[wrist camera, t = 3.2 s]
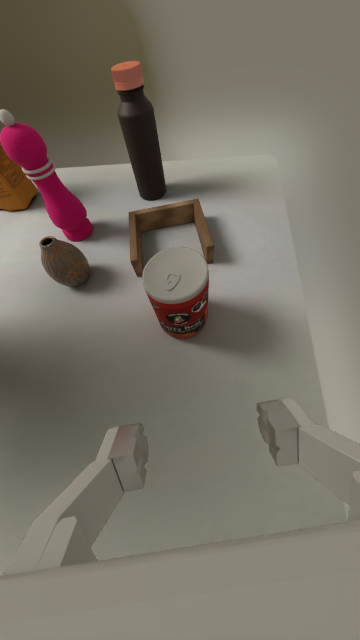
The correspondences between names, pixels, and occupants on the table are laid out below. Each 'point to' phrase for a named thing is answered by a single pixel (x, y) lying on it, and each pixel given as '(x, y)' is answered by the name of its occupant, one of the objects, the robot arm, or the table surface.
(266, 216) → the table surface
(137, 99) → the bottle
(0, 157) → the coffee package
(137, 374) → the table surface
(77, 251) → the vase
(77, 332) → the table surface
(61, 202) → the pepper mill
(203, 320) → the canned food
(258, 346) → the table surface
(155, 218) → the bay
